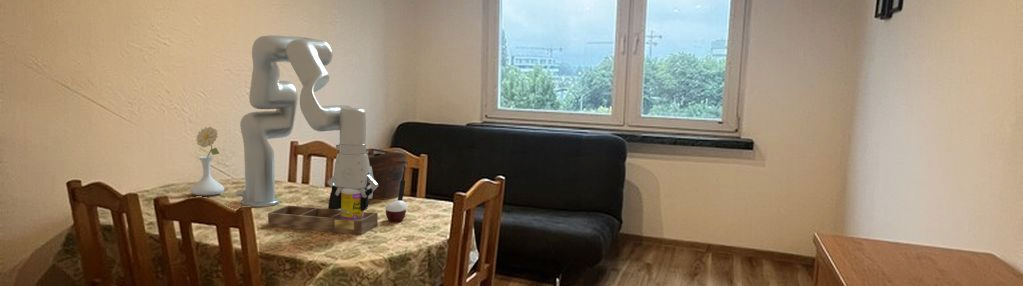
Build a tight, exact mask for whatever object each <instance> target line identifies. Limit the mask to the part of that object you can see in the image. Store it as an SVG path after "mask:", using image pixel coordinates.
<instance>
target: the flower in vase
mask: <svg viewBox="0 0 1023 286" xmlns="http://www.w3.org/2000/svg"><path fill="white" fill-rule="evenodd" d="M218 137H219V136H218V130H217V129H216V128H214V127H212V126H208V127H207V126H206V127H204V129H203V128H202V129H200V131H199V132H198V134H197V135H196V145H198V146H199V149H200V150H201V151H203V152H205V153H206V154H207V155H201V156H198V159H199V160H200V161H201V164H202V171H203V173H202V177H201V178H200V179H199V180H198V181H197V182H195V184H194V185H192V186H191V188H189V192H190V193H191V194H193V195H196V196H214V195H217V194H220V193H223V192H224V190H225V187H224V186H223V185H222V184H221V183H220V182H218V181H217V180H216V179H214V178H213V177H212V174H211V163H212V160H213V159H214V157H215V155H220V151H219V150H218V148H216V147H214V148H213V145H214V144H215V143H214V142H216V141H217V138H218ZM208 146H209V147H210V150H209V151H207V150H205V149H204V148H207V147H208ZM210 154H211V155H210Z"/></svg>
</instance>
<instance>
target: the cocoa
mask: <svg viewBox="0 0 1023 286" xmlns="http://www.w3.org/2000/svg"><path fill="white" fill-rule="evenodd" d="M405 185H406V180H404V179H402V180H401V181H400V188H399V194H398V196H397V200H394V201H391V202H389V203H387V204H386V205H385V215H386V219H387V220H388V221H389V222H393V223H399V222H402V221H403V220H404V219H405V217H406V211H407V209H408V206H407V203H406V202H405V201H404V200H403V199H404V191H405V188H406V187H405Z"/></svg>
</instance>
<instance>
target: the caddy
mask: <svg viewBox="0 0 1023 286" xmlns="http://www.w3.org/2000/svg"><path fill="white" fill-rule="evenodd" d="M267 217H268V218H267V226H268V227H272V228H283V229H295V230H297V229H298V230H304V231H305V230H306V231H317V232H325V233H326V232H327V233H328V232H329V233H339V234H347V235H348V234H350V235H351V234H352V235H358V236H359V235H364V234H366V233H367V232H369V231H371V230H372V229H373V228H376V227H378V212H373V211H372V212H369V211H364V219H362V220H349V219H341V210H338V209H328V208H325V207H324V208H323V207H322V208H321V207H315V206H314V207H311V206H300V205H286V206H284V207H281V208H278V209H276V210H273V211H270V212H267Z"/></svg>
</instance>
